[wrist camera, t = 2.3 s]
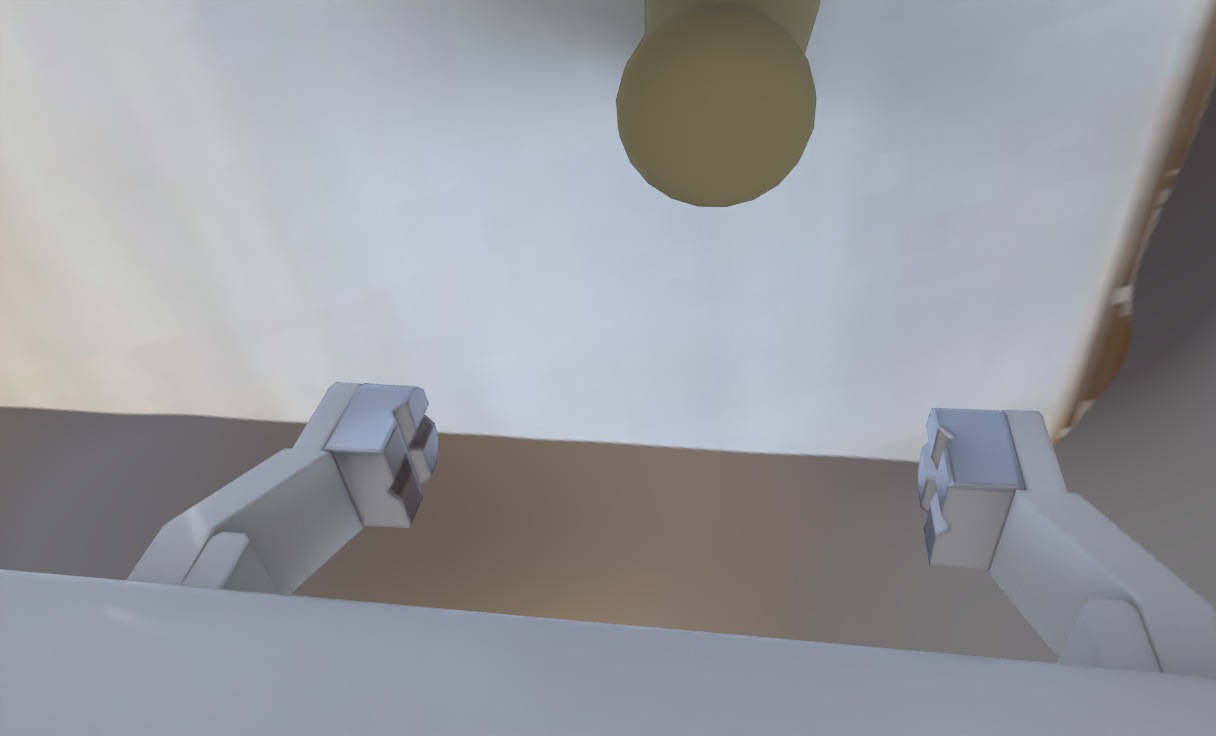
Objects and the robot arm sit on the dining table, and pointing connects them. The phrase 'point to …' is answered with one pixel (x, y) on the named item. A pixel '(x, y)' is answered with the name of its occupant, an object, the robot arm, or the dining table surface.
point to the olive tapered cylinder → (718, 97)
